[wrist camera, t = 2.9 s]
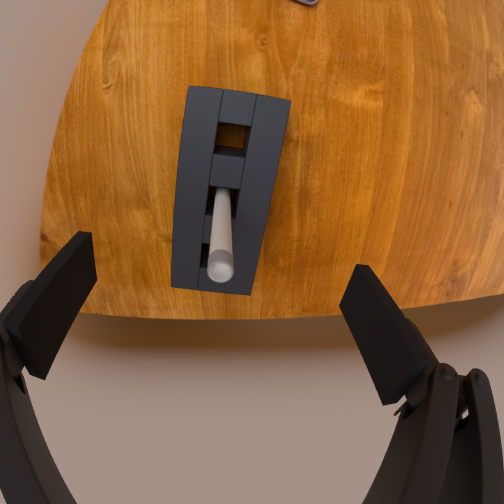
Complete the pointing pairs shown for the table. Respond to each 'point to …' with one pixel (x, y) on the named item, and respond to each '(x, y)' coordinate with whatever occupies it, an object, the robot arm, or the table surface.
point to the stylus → (221, 239)
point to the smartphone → (308, 1)
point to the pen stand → (224, 183)
